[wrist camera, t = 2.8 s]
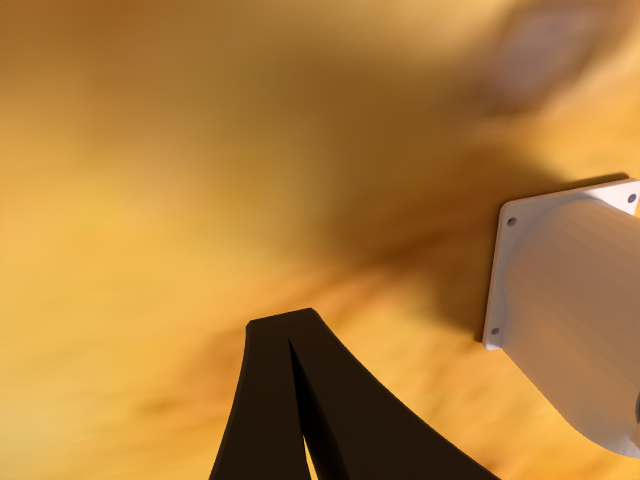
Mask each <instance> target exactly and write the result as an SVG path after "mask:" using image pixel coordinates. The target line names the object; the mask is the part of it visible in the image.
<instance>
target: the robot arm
mask: <svg viewBox="0 0 640 480" xmlns="http://www.w3.org/2000/svg"><path fill="white" fill-rule="evenodd" d="M639 196H640V180H638V179H635V178H629V179H624V180H619V181H613V182H608V183H603V184H598V185H592V186H587V187H582V188H576V189H571V190H566V191H561V192H555V193H550V194H545V195H539V196H534V197H529V198H524V199H518V200H513V201H509V202H507V203H505V204H504V205H503V207H502V208H501V211H500V216H499V224H498V231H497V238H496V246H495V253H494V260H493V268H492V275H491V282H490V289H489V297H488V304H487V311H486V319H485V326H484V333H483V341H482V345H483V346H484V347H485V348H486V349H487V350H495V349H499V348H502V349H503V350H504V352H505V353H506V354H507V355H508V356H509V357H510V358H511V359H512V360H513V362H514V363H515V364H516V365H517V366H518V367H519V368H520V369H521V371H522V372H523V373H524V374H525V375H526V376H527V377H528V378H529V379H530V381H531V382H532V383H533V384H534V385H535V386H536V387H537V388H538V390H539V391H540V392H541V393H542V394H543V395H544V396H545V397H546V398H547V400H548V401H549V402H550V403H551V404H552V405H553V406H554V407H555V409H556V410H557V411H558V412H559V413H560V414H561V415H562V416H563V417H564V419H565V420H566V421H567V422H568V423H569V424H570V425H571V426H572V427H573V428H574V429H576V430H577V431H578V432H579V433H581V434H582V435H583V436H585V437H586V438H588V439H589V440H591V441H593V442H594V443H596V444H598V445H600V446H602V447H604V448H606V449H608V450H610V451H612V452H615V453H617V454H620V455H623V456H627V457H632V458H638V459H640V218H638V217H635V216H634V213H635V209H636V206H637V203H638V200H639ZM510 218H512V219H511V221H510V222H509V223H508V220H509V219H510ZM303 435H304V438H305V441H306V444H307V447H308V450H309V453H310V456H311V459H312V462H313V465H314V468H315V471H316V474H317V477H318V480H501V479H499V478H498V477H497V476H495V475H494V474H492V473H491V472H490V471H488V470H487V469H486V468H484V467H483V466H481V465H480V464H479V463H477V462H476V461H474V460H473V459H472V458H470V457H469V456H468V455H466V454H465V453H463V452H462V451H461V450H460V449H458V448H457V447H456V446H454V445H453V444H452V443H450V442H449V441H448V440H447V439H445V438H444V437H443V436H441V435H440V434H439V433H438V432H436V431H435V430H434V429H433V428H431V427H430V426H429V425H428V424H426V423H425V422H424V421H423V420H422V419H421V418H419V417H418V416H417V415H416V414H415V413H413V412H412V411H411V410H410V409H409V408H408V407H407V406H405V405H404V404H403V403H402V402H401V401H400V400H399V399H398V398H396V397H395V396H394V395H393V394H392V393H391V392H390V391H389V390H388V389H387V388H386V387H385V386H383V385H382V384H381V383H380V382H379V381H378V380H377V379H376V378H375V377H374V376H373V375H372V374H371V373H370V372H369V371H368V370H367V369H366V368H365V367H364V366H363V365H362V364H361V363H360V362H359V361H358V360H357V359H356V358H355V357H354V356H353V355H352V354H351V352H350V351H349V350H348V349H347V348H346V347H345V346H344V345H343V344H342V343H341V341H340V340H339V339H338V338H337V337H336V336H335V335H334V333H333V332H332V331H331V330H330V329H329V327H328V326H327V325H326V324H325V322H324V321H323V320H322V319H321V317H320V316H319V314H318V313H317V312H316V311H315V310H314V309H312V308H306V309H301V310H297V311H292V312H288V313H283V314H278V315H274V316H269V317H265V318H260V319H255V320H251V321H250V322H249V323H248V324H247V326H246V340H245V349H244V356H243V361H242V367H241V372H240V377H239V381H238V385H237V389H236V393H235V397H234V401H233V405H232V409H231V412H230V416H229V419H228V422H227V426H226V429H225V432H224V435H223V438H222V441H221V444H220V448H219V451H218V454H217V457H216V460H215V463H214V466H213V469H212V471H211V474H210V477H209V480H311V476H310V472H309V468H308V464H307V459H306V452H305V445H304V438H303Z"/></svg>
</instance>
